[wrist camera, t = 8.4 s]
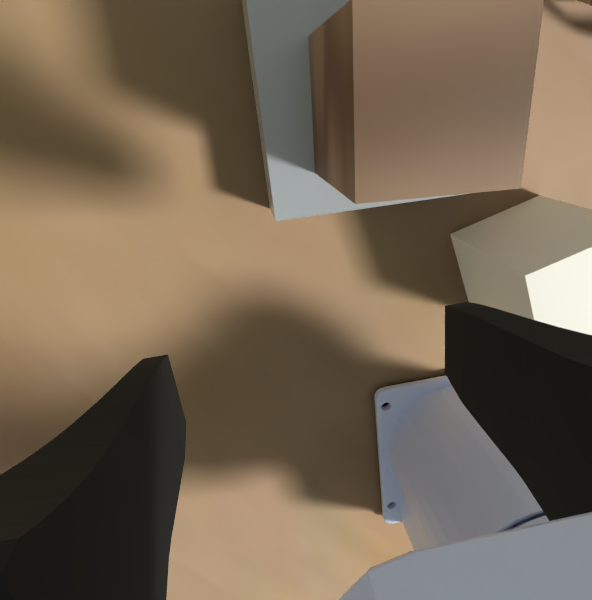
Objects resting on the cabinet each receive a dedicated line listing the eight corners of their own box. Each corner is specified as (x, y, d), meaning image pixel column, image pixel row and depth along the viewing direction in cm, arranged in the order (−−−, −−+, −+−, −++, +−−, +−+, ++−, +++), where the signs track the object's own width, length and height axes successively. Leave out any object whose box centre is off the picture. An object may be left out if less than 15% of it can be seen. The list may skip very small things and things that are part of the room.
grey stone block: (441, 182, 21) (473, 192, 19) (269, 206, 21) (275, 221, 18) (443, -26, 18) (482, -50, 15) (240, -5, 18) (242, -26, 15)
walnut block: (430, 163, 18) (520, 188, 12) (314, 173, 17) (355, 203, 12) (436, 28, 16) (545, -12, 11) (308, 35, 16) (352, -2, 10)
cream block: (553, 277, 24) (653, 328, 18) (471, 312, 24) (545, 374, 18) (538, 195, 22) (644, 224, 16) (449, 233, 22) (524, 275, 16)
